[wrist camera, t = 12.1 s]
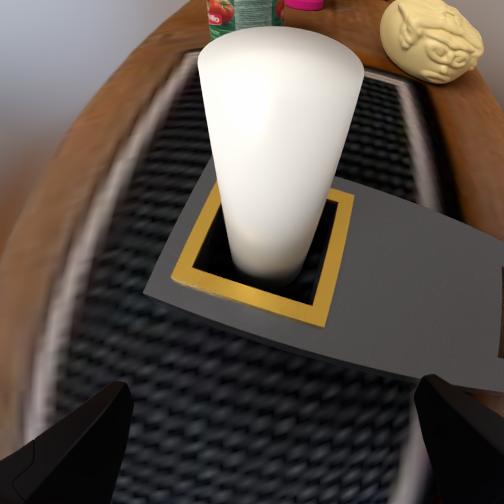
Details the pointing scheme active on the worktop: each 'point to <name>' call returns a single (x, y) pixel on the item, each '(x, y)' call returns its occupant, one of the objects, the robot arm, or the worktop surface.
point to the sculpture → (430, 40)
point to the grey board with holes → (356, 289)
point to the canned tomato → (243, 15)
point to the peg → (276, 140)
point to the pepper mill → (305, 4)
